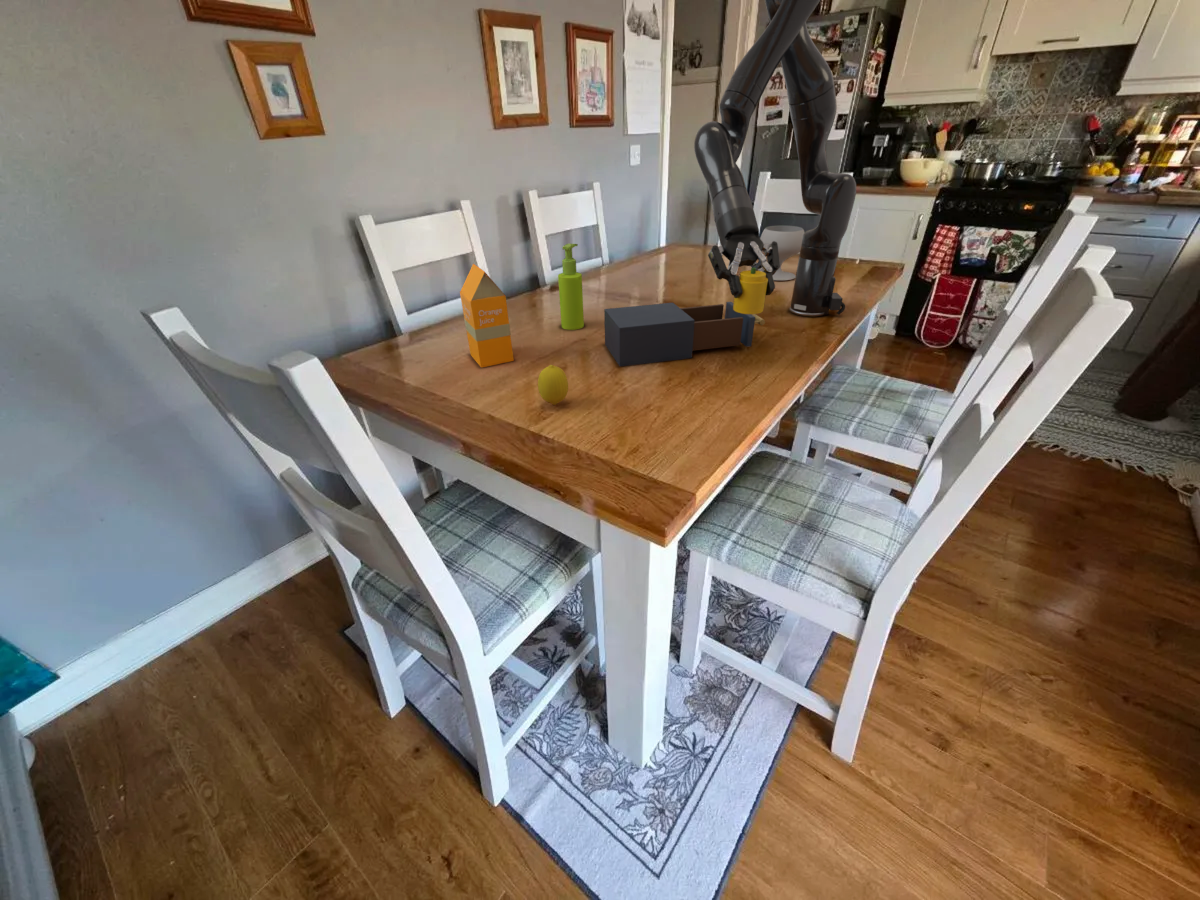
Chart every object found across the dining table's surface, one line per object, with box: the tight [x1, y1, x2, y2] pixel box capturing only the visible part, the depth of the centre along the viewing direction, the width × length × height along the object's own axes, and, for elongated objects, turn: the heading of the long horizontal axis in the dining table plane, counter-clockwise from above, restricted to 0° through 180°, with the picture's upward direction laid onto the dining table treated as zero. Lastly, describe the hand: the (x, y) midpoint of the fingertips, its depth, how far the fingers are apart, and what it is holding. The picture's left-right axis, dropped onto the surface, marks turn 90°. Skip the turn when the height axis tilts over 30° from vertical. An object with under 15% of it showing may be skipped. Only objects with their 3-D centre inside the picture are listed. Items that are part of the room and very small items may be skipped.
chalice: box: [760, 225, 805, 281], centre depth 167 cm, size 14×14×15 cm
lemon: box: [537, 364, 569, 406], centre depth 94 cm, size 6×6×8 cm
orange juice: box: [459, 263, 514, 368], centre depth 111 cm, size 8×9×20 cm
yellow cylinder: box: [733, 267, 768, 315], centre depth 99 cm, size 6×6×8 cm
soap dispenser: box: [557, 243, 585, 331], centre depth 129 cm, size 6×7×20 cm
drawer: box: [679, 301, 766, 352], centre depth 118 cm, size 20×12×7 cm, turn 103°
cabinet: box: [603, 302, 695, 367], centre depth 115 cm, size 17×14×9 cm
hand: (754, 294), depth 98 cm, fingers closed on yellow cylinder, 6 cm apart
